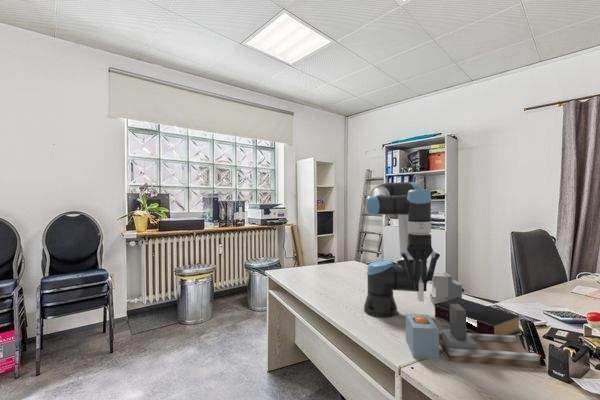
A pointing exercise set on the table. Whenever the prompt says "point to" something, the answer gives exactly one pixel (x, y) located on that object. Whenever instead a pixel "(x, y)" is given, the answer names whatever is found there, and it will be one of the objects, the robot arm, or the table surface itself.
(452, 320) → the carriage
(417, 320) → the button
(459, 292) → the circuit breaker
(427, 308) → the table surface
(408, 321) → the end cabinet
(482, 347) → the rail board
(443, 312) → the book
